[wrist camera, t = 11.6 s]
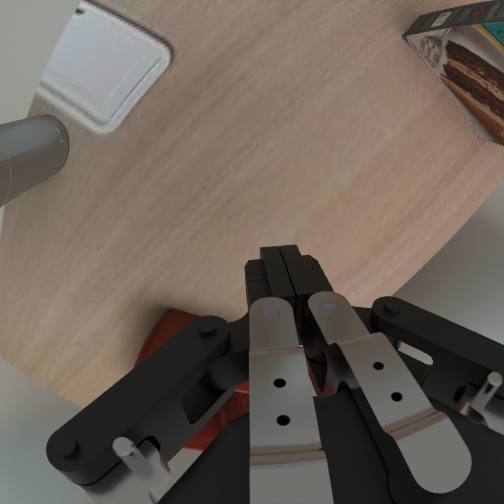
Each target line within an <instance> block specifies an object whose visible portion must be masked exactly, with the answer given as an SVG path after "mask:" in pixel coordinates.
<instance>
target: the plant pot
mask: <svg viewBox="0 0 504 504" xmlns="http://www.w3.org/2000/svg"><path fill="white" fill-rule="evenodd" d="M196 318H199V317H197V316H194V315H190V314H187V313H184V312H180V311H177V310H168V311H167V312H166V313H165V314H164V315H163V316H162V317H161V319H160V320H159V321H158V322H157V324H156V325H155V326H154V328H153V329H152V331H151V332H150V334H149V336H148V338H147V339H146V341H145V343H144V345H143V347H142V349H141V351H140V353H139V356H138V358H137V361H136V363H135V365H134V368H135V367H136V366H138V365H139V364H140V363H141V362H142V361H144V360H145V359H146V358H147V357H149V356H150V355H151V354H152V353H153V352H155V351H156V350H157V349H158V348H160V347H161V346H162V345H163V344H164V343H166V342H167V341H168V340H169V339H171V338H172V337H173V336H174V335H175V334H177V333H178V332H179V331H180V330H181V329H183V328H184V327H185V326H186V325H187V324H189V323H190V322H191V321H193V320H194V319H196ZM134 368H133V369H134ZM249 411H250V401H249V381H247V382H245V383H242V384H239V385H237V387H236V390H235V391H234V393H233V394H232V395H231V396H230V397H229V398H228V400H227V401H226V402H225V403H224V404H223V405H222V406H221V407H220V408H219V410H218V411H217V412H216V413H215V414H214V415H213V416H212V417H211V418H210V419H209V420H208V422H207V423H206V424H205V425H204V426H203V427H202V428H201V429H200V430H199V431H198V432H197V433H196V434H195V435H194V436H193V437H192V438H191V439H190V440H189V442H188V443H187V444H186V445H185V446H184V447H183V448H186V449H192V450H197V451H204V450H205V449H206V447H207V446H208V445H209V444H210V443H211V442H212V440H213V439H214V438H215V437H216V436H217V434H218V433H219V432H220V431H221V430H222V429H223V428H224V427H225V426H226V425H227V424H228V423H230V422H231V421H232V420H234V419H235V418H237V417H239V416H240V415H242V414H244V413H247V412H249Z"/></svg>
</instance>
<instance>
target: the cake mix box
mask: <svg viewBox="0 0 504 504" xmlns="http://www.w3.org/2000/svg"><path fill="white" fill-rule="evenodd" d="M402 38H403V39H404V40H405V41H406V42H407V43H408V44H409V45H410V46H411V48H412V49H413V50H414V51H415V52H416V53H417V54H418V55H419V57H420V58H421V59H422V60H423V61H424V62H425V64H426V65H427V66H428V67H429V68H430V70H431V71H432V72H433V73H434V75H435V76H436V77H437V78H438V80H439V81H440V82H441V83H442V85H443V86H444V87H445V89H446V90H447V91H448V93H449V94H450V95H451V97H452V98H453V100H454V101H455V102H456V104H457V105H458V107H459V108H460V110H461V111H462V113H463V114H464V116H465V117H466V119H467V120H468V122H469V123H470V125H471V126H472V128H473V129H474V131H475V133H476V134H477V136H478V138H482V139H485V140H488V141H491V142H494V143H497V144H500V145H503V146H504V0H493V1H486V2H480V3H474V4H469V5H463V6H458V7H454V8H449V9H445V10H441V11H437V12H433V13H429V14H425V15H421V16H420V17H419V18H418V19H417V20H416V21H415V22H414V24H413V25H412V26H411V27H410V28H409V29H408V30H407V32H406V33H405V34H404V35H403V36H402Z"/></svg>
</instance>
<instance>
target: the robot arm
mask: <svg viewBox="0 0 504 504" xmlns="http://www.w3.org/2000/svg"><path fill="white" fill-rule="evenodd" d="M68 148H69V143H68V136H67V133H66V130H65V128H64V126H63V125H62V124H61V122H60V121H58V120H57V119H56V118H54V117H52V116H48V115H43V116H37V117H32V118H26V119H22V120H18V121H13V122H9V123H5V124H1V125H0V207H2V206H3V205H5V204H6V203H8V202H9V201H11V200H12V199H14V198H15V197H17V196H19V195H20V194H22V193H23V192H25V191H27V190H28V189H30V188H31V187H33V186H35V185H36V184H38V183H40V182H42V181H43V180H45V179H47V178H48V177H50V176H52V175H54V174H55V173H57V172H58V171H59V170H60V169H61V167H62V166H63V165H64V163H65V161H66V158H67V155H68ZM245 282H246V297H247V305H248V312H247V314H246V315H245V316H244V317H242V318H241V319H239V320H237V321H234V322H231V323H227V321H226V320H224V319H223V318H220V317H217V316H202V317H199V318H196V319H194V320H193V321H191V322H190V323H189V324H187V325H186V326H185V327H184V328H183V329H181V330H180V331H179V332H178V333H177V334H175V335H174V336H173V337H172V338H171V339H169V340H168V341H167V342H166V343H164V344H163V345H162V346H161V347H160V348H158V349H157V350H156V351H155V352H153V353H152V354H151V355H150V356H149V357H147V358H146V359H145V360H144V361H142V362H141V363H140V364H139V365H138V366H136V367H135V368H134V369H133V370H131V371H130V372H129V373H128V374H126V375H125V376H124V377H123V378H122V379H120V380H119V381H118V382H117V383H115V384H114V385H113V386H112V387H110V388H109V389H108V390H107V391H105V392H104V393H103V394H102V395H100V396H99V397H98V398H97V399H95V400H94V401H93V402H92V403H90V404H89V405H88V406H87V407H85V408H84V409H83V410H82V411H81V412H79V413H78V414H77V415H76V416H74V417H73V418H72V419H71V420H69V421H68V422H67V423H65V424H64V425H63V426H62V427H60V428H59V429H58V430H57V431H55V432H54V433H53V434H52V435H51V437H50V438H49V440H48V443H47V446H46V453H47V458H48V460H49V462H50V463H51V464H52V465H53V466H54V467H55V468H56V469H57V470H58V471H60V472H61V473H62V474H63V475H65V476H66V478H67V479H68V480H70V482H72V483H73V484H74V485H76V486H77V487H78V488H80V489H81V490H83V491H84V492H85V493H87V494H88V495H89V496H90V497H91V498H92V499H93V500H94V501H95V502H96V503H97V504H504V345H502V344H500V343H498V342H496V341H494V340H491V339H489V338H487V337H485V336H483V335H480V334H478V333H476V332H474V331H471V330H469V329H467V328H465V327H462V326H460V325H458V324H456V323H454V322H451V321H449V320H447V319H445V318H442V317H440V316H438V315H435V314H433V313H431V312H429V311H426V310H424V309H422V308H420V307H417V306H415V305H413V304H410V303H408V302H406V301H403V300H401V299H399V298H396V297H391V296H385V297H380V298H378V299H376V300H375V301H374V302H373V305H372V308H363V307H354V306H351V305H350V303H349V302H348V300H347V299H346V298H345V297H344V296H342V295H341V294H338V293H335V292H334V291H333V289H332V287H331V285H330V283H329V281H328V279H327V277H326V276H325V275H324V272H323V270H322V269H321V266H320V264H319V263H318V261H317V260H316V259H314V258H313V257H312V256H310V255H303V256H301V254H300V251H299V249H298V247H297V245H284V246H272V247H260V259H257V260H249V261H248V262H247V264H246V265H245ZM401 342H404V343H406V344H408V345H410V346H412V347H414V348H416V349H418V350H420V351H422V352H424V353H427V354H428V355H430V356H431V357H432V360H433V364H432V365H428V364H425V363H423V362H421V361H419V360H417V359H415V358H412V357H410V356H408V355H407V354H405V353H402V352H401V351H399V347H400V345H401ZM299 345H303V347H299ZM303 348H304V349H303ZM309 377H310V379H311V381H312V384H313V387H314V389H315V392H316V394H317V397H316V396H313V395H312V390H311V384H310V379H309ZM247 381H249V401H250V411H249V412H247V413H244V414H242V415H240V416H239V417H237V418H235V419H234V420H232V421H231V422H230V423H228V424H227V425H226V426H225V427H224V428H223V429H222V430H221V431H220V432H219V433H218V434H217V436H216V437H215V438H214V439H213V440H212V442H211V443H210V444H209V445H208V446H207V447H206V449H205V450H204V451H203V452H202V453H201V455H200V456H199V457H198V458H197V459H196V460H195V462H194V463H193V464H192V465H191V466H190V467H189V468H188V469H187V471H186V472H185V473H184V474H183V475H182V476H181V477H180V478H179V479H178V481H177V482H176V483H175V484H174V485H173V486H172V487H171V488H170V489H169V490H168V491H167V493H166V494H165V495H164V496H163V497H162V498H161V496H162V493H163V490H164V489H165V488H166V486H167V485H168V483H169V481H170V477H171V472H170V468H169V466H168V464H167V463H168V462H169V461H170V460H171V459H172V458H173V457H174V456H175V455H176V454H177V453H178V452H179V451H180V450H181V449H182V448H183V447H184V446H185V445H186V444H187V443H188V442H189V440H190V439H191V438H192V437H193V436H194V435H195V434H196V433H197V432H198V431H199V430H200V429H201V428H202V427H203V426H204V425H205V424H206V423H207V422H208V420H209V419H210V418H211V417H212V416H213V415H214V414H215V413H216V412H217V411H218V410H219V408H220V407H221V406H222V405H223V404H224V403H225V402H226V401H227V400H228V398H229V397H230V396H231V395H232V394H233V393H234V391H235V390H236V387H237V385H239V384H242V383H245V382H247Z"/></svg>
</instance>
